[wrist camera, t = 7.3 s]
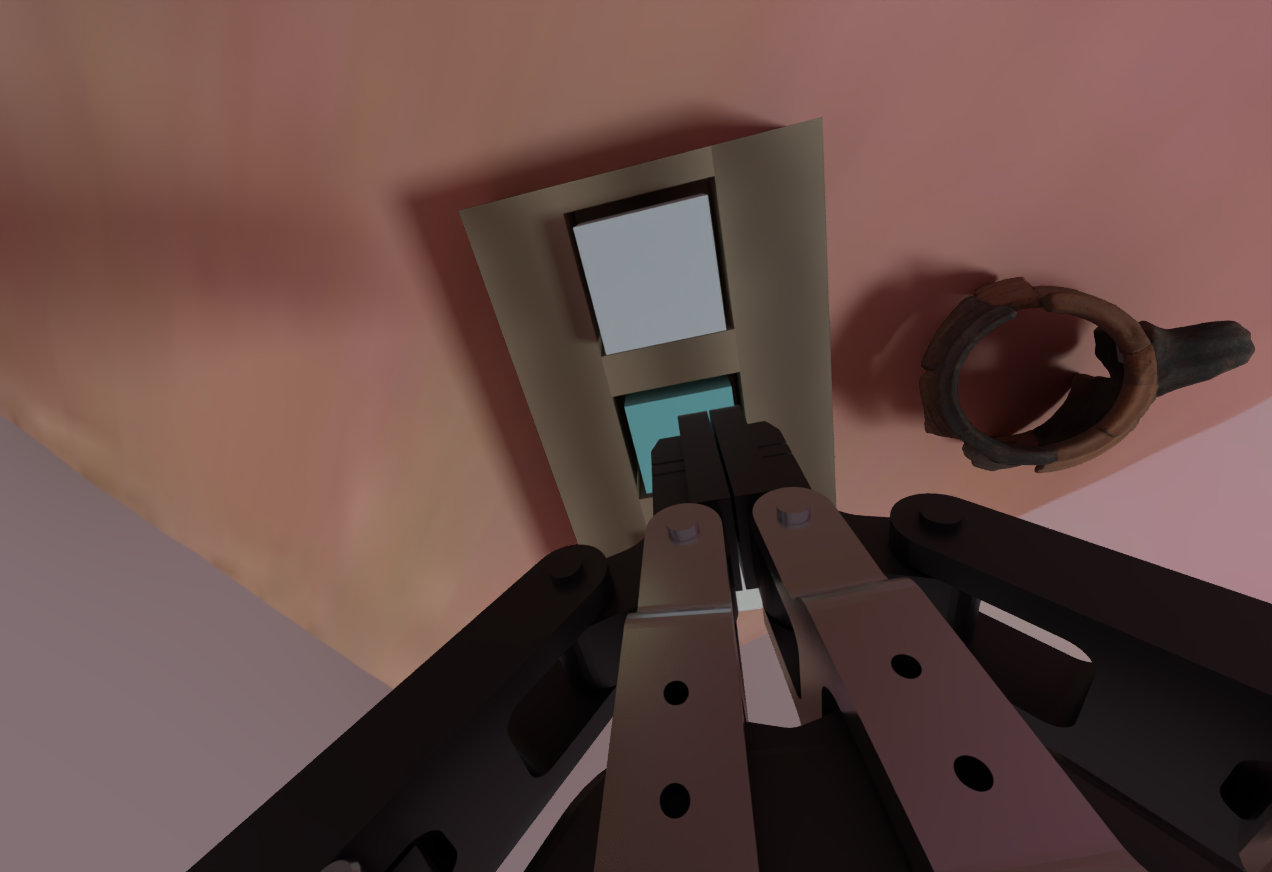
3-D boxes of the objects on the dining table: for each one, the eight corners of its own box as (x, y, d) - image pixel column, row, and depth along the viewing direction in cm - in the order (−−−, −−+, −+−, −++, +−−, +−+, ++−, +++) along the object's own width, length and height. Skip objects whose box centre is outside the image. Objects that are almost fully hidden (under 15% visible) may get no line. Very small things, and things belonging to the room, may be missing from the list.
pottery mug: (937, 472, 29) (956, 512, 22) (885, 326, 29) (887, 318, 22) (1213, 409, 24) (1360, 434, 16) (1147, 228, 24) (1266, 173, 16)
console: (612, 579, 33) (607, 626, 30) (488, 205, 22) (458, 210, 19) (818, 548, 32) (839, 595, 28) (792, 127, 21) (822, 117, 17)
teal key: (646, 470, 27) (646, 493, 25) (626, 388, 24) (624, 407, 22) (737, 454, 26) (744, 477, 24) (724, 369, 24) (731, 386, 22)
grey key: (610, 339, 22) (606, 354, 20) (580, 223, 20) (572, 227, 18) (719, 316, 21) (726, 330, 19) (701, 193, 19) (707, 194, 17)
